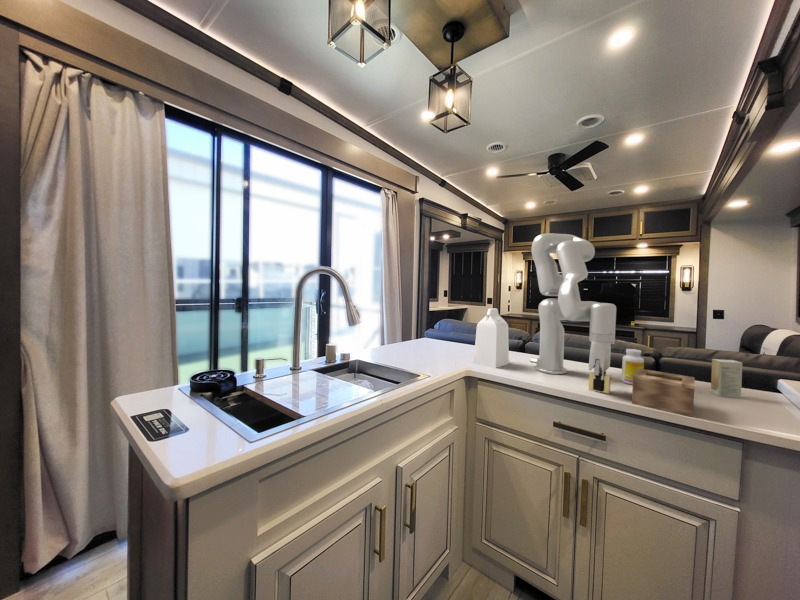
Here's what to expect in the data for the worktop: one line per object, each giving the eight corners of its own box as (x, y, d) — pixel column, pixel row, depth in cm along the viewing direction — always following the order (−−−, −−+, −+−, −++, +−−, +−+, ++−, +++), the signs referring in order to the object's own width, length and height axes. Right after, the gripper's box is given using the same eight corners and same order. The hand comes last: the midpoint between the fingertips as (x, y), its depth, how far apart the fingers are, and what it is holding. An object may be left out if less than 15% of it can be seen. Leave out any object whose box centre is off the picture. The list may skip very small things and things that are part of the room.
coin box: (631, 403, 97) (633, 375, 96) (636, 393, 106) (638, 368, 105) (692, 417, 87) (694, 386, 87) (692, 405, 96) (694, 377, 95)
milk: (487, 359, 153) (488, 307, 151) (508, 363, 144) (510, 309, 143) (473, 363, 145) (475, 308, 143) (495, 368, 136) (497, 310, 135)
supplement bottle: (646, 386, 114) (648, 352, 113) (626, 385, 115) (628, 351, 114) (636, 380, 120) (638, 348, 120) (617, 379, 122) (619, 347, 121)
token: (588, 389, 109) (589, 373, 109) (590, 387, 111) (591, 371, 111) (608, 393, 105) (609, 376, 105) (610, 392, 107) (610, 375, 107)
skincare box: (732, 394, 106) (735, 359, 106) (741, 398, 102) (744, 362, 102) (709, 392, 109) (711, 358, 108) (717, 396, 104) (719, 361, 104)
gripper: (594, 334, 116) (592, 382, 116) (583, 339, 104) (581, 392, 105) (618, 336, 110) (616, 386, 111) (610, 342, 99) (607, 398, 100)
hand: (599, 389), depth 108 cm, fingers closed on token, 2 cm apart
